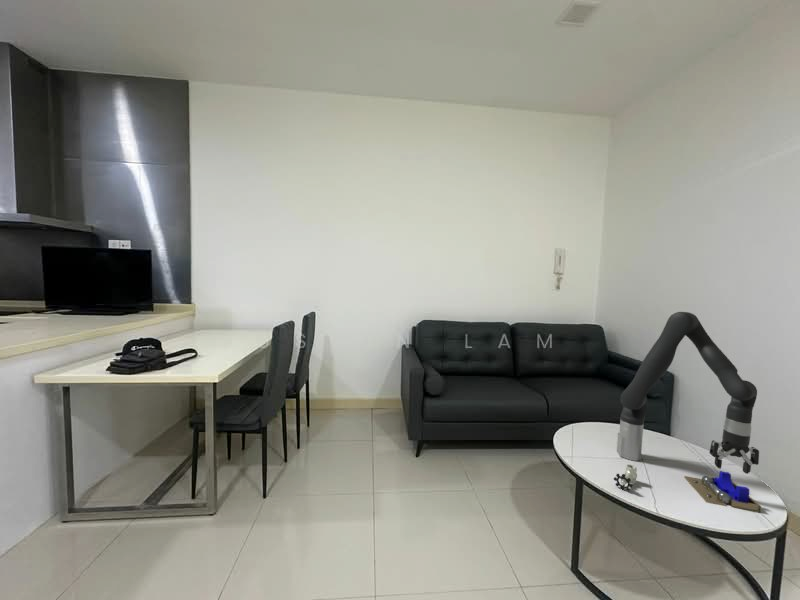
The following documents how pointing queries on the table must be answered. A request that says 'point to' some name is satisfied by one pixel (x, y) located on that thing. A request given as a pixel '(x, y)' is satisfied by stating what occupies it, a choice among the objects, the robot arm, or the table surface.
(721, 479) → the blue curved bracket
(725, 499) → the hinge base
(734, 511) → the table surface
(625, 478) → the valve
